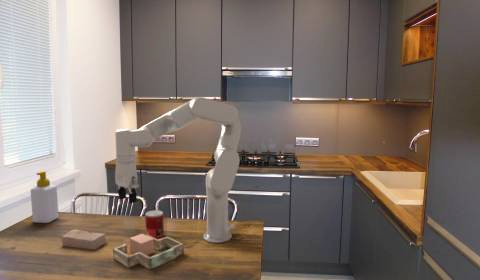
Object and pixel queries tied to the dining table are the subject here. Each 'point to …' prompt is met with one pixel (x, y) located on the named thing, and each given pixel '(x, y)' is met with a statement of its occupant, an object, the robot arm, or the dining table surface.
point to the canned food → (154, 224)
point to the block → (142, 244)
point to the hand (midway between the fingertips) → (127, 200)
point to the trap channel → (165, 244)
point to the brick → (83, 239)
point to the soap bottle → (44, 200)
